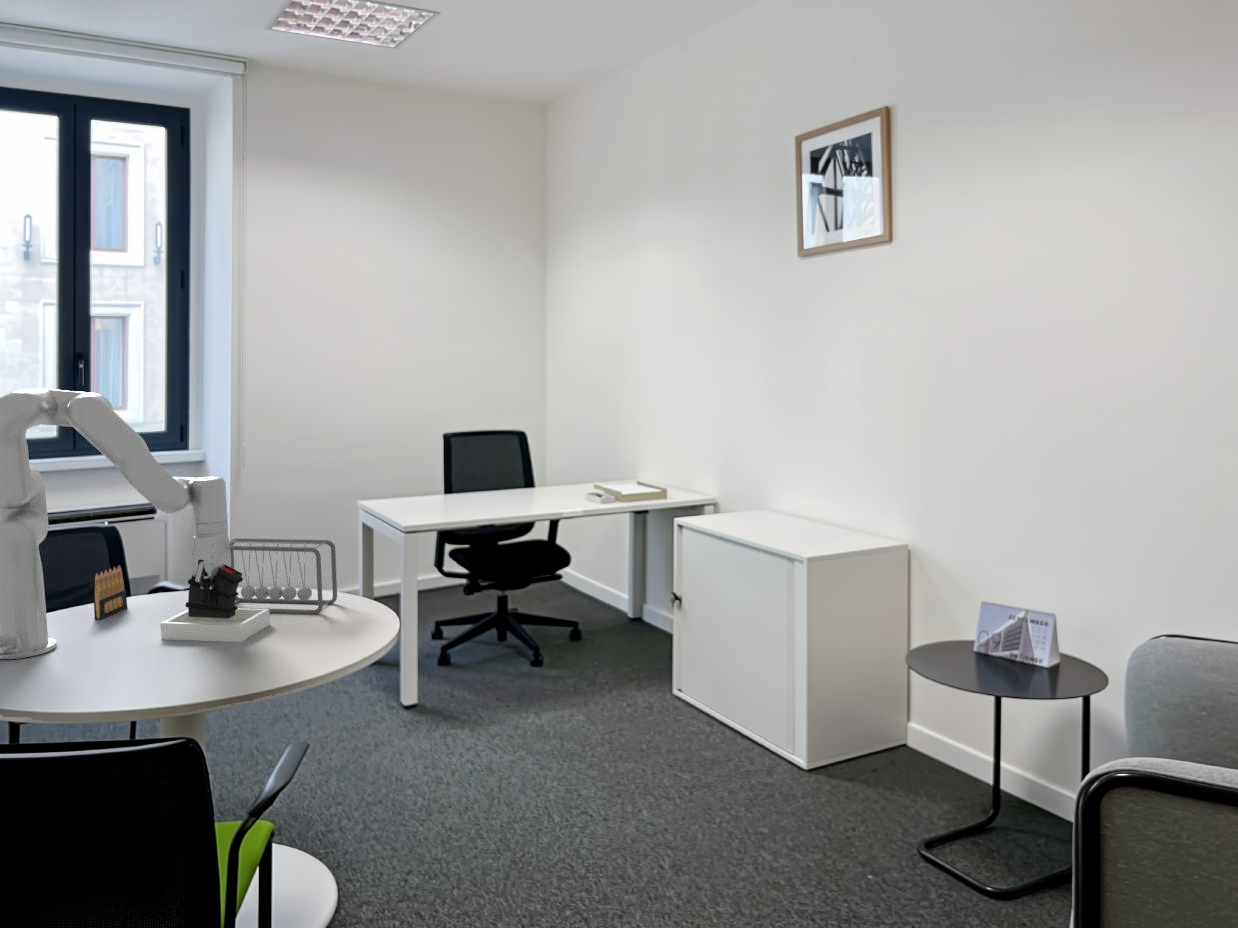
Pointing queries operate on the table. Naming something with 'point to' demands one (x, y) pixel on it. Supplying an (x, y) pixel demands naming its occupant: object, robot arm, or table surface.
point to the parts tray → (216, 626)
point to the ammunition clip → (109, 594)
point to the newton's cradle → (288, 591)
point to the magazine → (225, 595)
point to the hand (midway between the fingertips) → (215, 601)
